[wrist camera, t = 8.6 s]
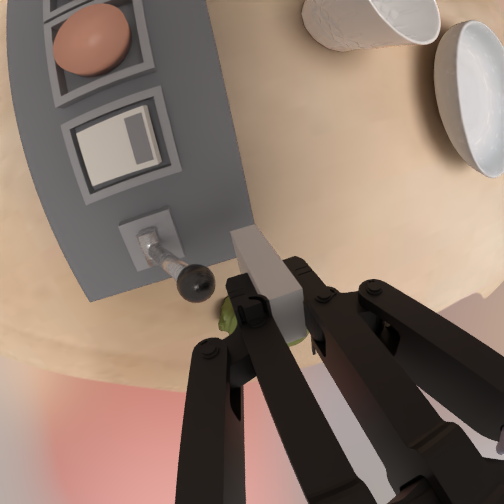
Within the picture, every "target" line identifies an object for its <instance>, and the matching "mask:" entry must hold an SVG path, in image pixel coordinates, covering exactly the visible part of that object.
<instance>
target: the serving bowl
mask: <svg viewBox="0 0 504 504" xmlns="http://www.w3.org/2000/svg"><path fill="white" fill-rule="evenodd" d="M434 86H435V94H436V100H437V105H438V109H439V113H440V116H441V120H442V123H443V125H444V128H445V130H446V133H447V135H448V137H449V139H450V141H451V143H452V144H453V146H454V148H455V149H456V151H457V152H458V153H459V155H460V156H461V157H462V158H463V159H464V161H465V162H466V163H468V164H469V165H470V166H471V167H472V168H474V169H475V170H476V171H478V172H480V173H481V174H483V175H485V176H487V177H489V178H496V177H498V176H500V175H502V174H503V173H504V47H503V45H502V44H501V42H500V40H499V39H498V38H497V36H496V35H495V34H494V32H493V31H492V30H491V29H490V28H489V27H488V26H486V25H485V24H483V23H482V22H479V21H476V20H470V21H465V22H461V23H458V24H456V25H454V26H452V27H451V28H450V29H449V30H447V31H446V33H445V34H444V35H443V37H442V38H441V40H440V42H439V45H438V48H437V51H436V55H435V62H434Z"/></svg>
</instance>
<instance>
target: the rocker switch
mask: <svg viewBox="0 0 504 504" xmlns="http://www.w3.org/2000/svg"><path fill="white" fill-rule="evenodd" d="M76 135H77V139H78V142H79V146H80V149H81V153H82V156H83V159H84V162H85V165H86V169H87V172H88V175H89V178H90V181H91V184H92V186H95V185H97V184H100V183H103V182H106V181H108V180H111V179H114V178H117V177H120V176H123V175H126V174H129V173H132V172H135V171H138V170H141V169H144V168H148V167H151V166H154V165H158V164H159V163H161V162H162V160H161V156H160V152H159V149H158V145H157V141H156V138H155V134H154V130H153V126H152V123H151V119H150V115H149V111H148V107H147V105H143V106H140V107H137V108H135V109H132V110H129V111H127V112H124V113H121V114H119V115H116V116H114V117H112V118H109V119H107V120H105V121H102V122H100V123H98V124H95V125H93V126H91V127H89V128H87V129H85V130H83V131H80V132H78V133H76Z"/></svg>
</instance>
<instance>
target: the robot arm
mask: <svg viewBox="0 0 504 504" xmlns="http://www.w3.org/2000/svg"><path fill="white" fill-rule="evenodd" d="M230 233H231V237H232V241H233V245H234V249H235V252H236V256H237V260H238V264H239V268H240V271H241V273H242V274H241V275H237V276H234V277H231V278H228V279H227V282H226V289H227V292H228V295H229V299H230V302H231V305H232V308H233V311H234V314H235V317H236V320H237V326H236V328H235V330H234V331H233V332H232V334H230V335H229V336H228V337H226V338H225V339H223V340H221V339H219V338H208V339H204V340H202V341H201V342H199V343H198V344H197V345H196V346H195V347H194V350H193V352H192V358H191V365H190V372H189V379H188V386H187V393H186V401H185V409H184V417H183V425H182V434H181V443H180V452H179V462H178V473H177V485H176V497H175V504H246V495H245V494H246V493H245V451H244V396H243V395H244V394H243V385H244V384H245V383H247V382H248V381H250V380H251V379H253V378H254V377H256V376H257V379H258V382H259V384H260V387H261V389H262V392H263V395H264V397H265V400H266V402H267V405H268V408H269V410H270V413H271V416H272V418H273V420H274V423H275V426H276V428H277V431H278V433H279V436H280V438H281V441H282V443H283V446H284V448H285V450H286V453H287V455H288V458H289V460H290V463H291V465H292V467H293V470H294V472H295V474H296V477H297V479H298V481H299V484H300V486H301V488H302V491H303V493H304V495H305V498H306V499H307V502H308V504H377V503H376V501H375V499H374V497H373V495H372V494H371V492H370V490H369V489H368V487H367V486H366V484H365V483H364V482H363V481H362V480H361V479H359V478H358V476H357V475H356V474H355V472H354V470H353V468H352V467H351V465H350V463H349V461H348V459H347V457H346V455H345V454H344V452H343V450H342V448H341V446H340V444H339V442H338V441H337V439H336V437H335V435H334V433H333V431H332V429H331V427H330V426H329V424H328V422H327V420H326V418H325V416H324V414H323V412H322V411H321V408H320V407H319V405H318V403H317V401H316V399H315V397H314V395H313V393H312V391H311V389H310V388H309V385H308V384H307V382H306V380H305V378H304V376H303V374H302V372H301V370H300V368H299V366H298V364H297V362H296V361H295V359H294V357H293V355H292V353H291V351H290V349H289V347H288V345H287V343H290V342H293V341H295V340H298V339H301V338H303V337H306V336H307V329H308V331H309V333H310V334H311V342H312V352H313V355H315V354H316V353H315V349H316V351H317V353H318V354H319V356H320V358H321V359H322V361H323V363H324V364H325V366H326V368H327V369H328V371H329V373H330V375H331V376H332V378H333V379H334V381H335V383H336V385H337V386H338V388H339V390H340V391H341V393H342V395H343V396H344V398H345V400H346V401H347V403H348V405H349V407H350V408H351V410H352V412H353V413H354V415H355V416H356V418H357V420H358V422H359V423H360V425H361V427H362V428H363V430H364V432H365V434H366V435H367V437H368V439H369V440H370V442H371V444H372V445H373V447H374V449H375V450H376V452H377V454H378V456H379V457H380V459H381V461H382V462H383V464H384V466H385V468H386V472H387V478H388V481H389V483H390V485H391V486H392V488H393V490H394V492H395V494H396V496H395V497H394V498H393V499H392V500H391V501H390V502H389V503H387V504H504V460H498V459H491V458H484V457H482V456H481V454H480V453H479V451H478V450H477V449H476V447H475V446H474V444H473V443H472V442H471V440H470V439H469V437H468V436H467V435H466V433H465V432H464V431H463V429H462V428H461V427H460V426H459V425H457V424H456V423H454V422H446V421H444V420H443V419H442V418H441V417H440V416H439V415H438V413H437V412H436V411H435V409H434V408H433V407H432V405H431V404H430V403H429V401H428V400H427V399H426V398H425V396H424V395H423V393H422V392H421V391H420V390H419V388H418V387H420V388H421V389H422V390H423V391H425V392H426V393H427V394H429V395H430V396H431V397H432V398H434V399H435V400H436V401H438V402H439V403H440V404H441V405H443V406H444V407H445V408H447V409H448V410H449V411H450V412H452V413H453V414H454V415H455V416H457V417H458V418H459V419H461V420H462V421H463V422H464V423H466V424H467V425H468V426H470V427H471V428H472V429H474V430H475V431H476V432H478V433H479V434H481V435H483V436H485V437H487V438H489V439H491V440H494V441H498V444H497V446H496V451H497V453H498V454H500V455H502V454H504V357H503V356H502V355H500V354H499V353H497V352H496V351H495V350H493V349H492V348H490V347H489V346H487V345H486V344H484V343H482V342H481V341H479V340H478V339H476V338H475V337H473V336H472V335H470V334H469V333H467V332H466V331H464V330H463V329H461V328H459V327H458V326H456V325H455V324H453V323H451V322H450V321H448V320H447V319H445V318H443V317H442V316H440V315H439V314H437V313H435V312H434V311H432V310H431V309H429V308H427V307H426V306H424V305H422V304H421V303H419V302H417V301H416V300H414V299H412V298H411V297H409V296H407V295H406V294H404V293H402V292H401V291H399V290H397V289H396V288H394V287H392V286H391V285H389V284H387V283H385V282H384V281H381V280H377V279H371V280H366V281H364V282H362V284H361V285H360V286H359V291H355V292H348V293H340V292H339V291H338V290H336V289H335V288H333V287H329V286H326V285H325V284H324V283H323V282H322V281H321V279H320V278H319V277H318V276H317V275H316V273H315V272H314V271H312V269H311V268H310V266H308V264H307V263H306V262H305V261H304V260H303V259H301V258H299V257H297V256H294V257H291V258H288V259H285V260H281V258H280V257H279V255H278V254H277V253H276V251H275V250H274V249H273V247H272V246H271V245H270V243H269V242H268V241H267V239H266V238H265V236H264V235H263V234H262V232H261V231H260V230H259V228H258V227H257V226H256V224H253V225H250V226H247V227H243V228H240V229H237V230H233V231H230ZM416 385H417V386H418V387H417V386H416Z"/></svg>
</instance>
